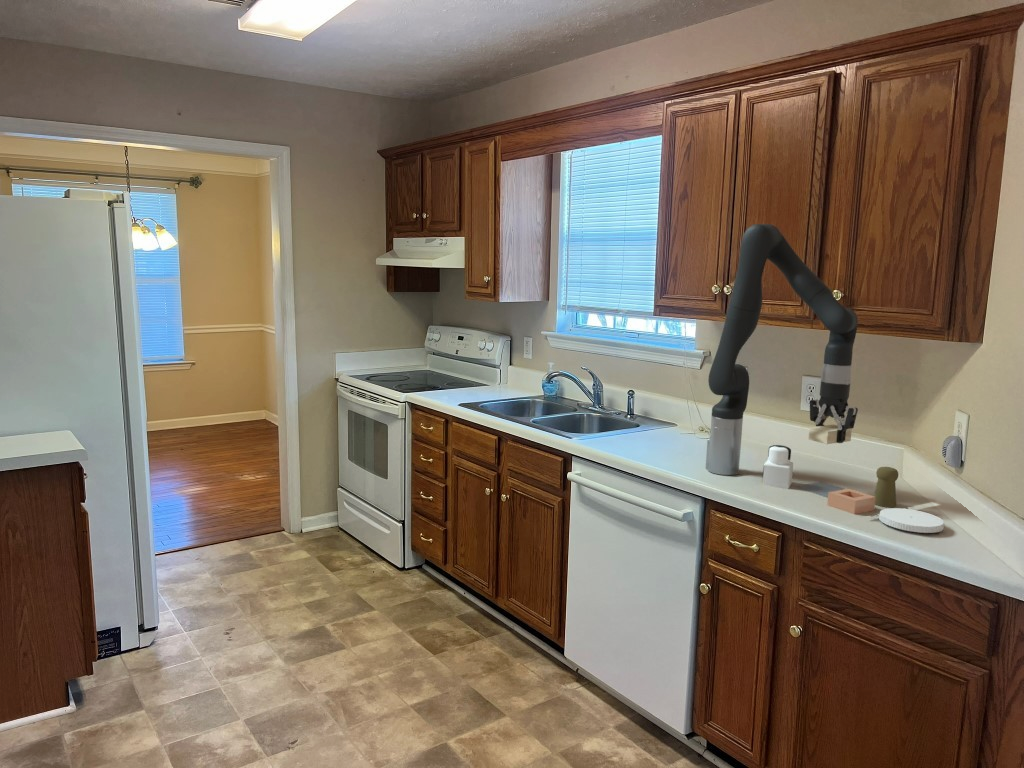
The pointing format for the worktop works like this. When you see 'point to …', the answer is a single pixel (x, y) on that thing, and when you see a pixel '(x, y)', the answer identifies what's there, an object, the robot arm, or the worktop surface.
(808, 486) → the mat
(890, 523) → the plastic lid
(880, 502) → the cork
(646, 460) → the worktop surface
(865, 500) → the pink hollow block
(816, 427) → the cream wooden block
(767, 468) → the medicine bottle
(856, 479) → the worktop surface
